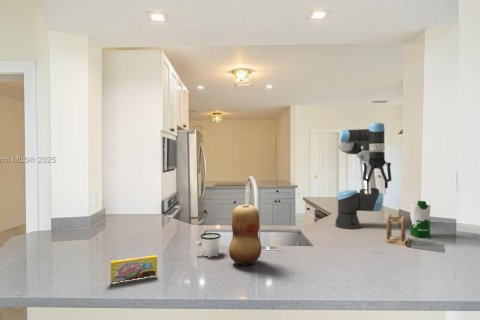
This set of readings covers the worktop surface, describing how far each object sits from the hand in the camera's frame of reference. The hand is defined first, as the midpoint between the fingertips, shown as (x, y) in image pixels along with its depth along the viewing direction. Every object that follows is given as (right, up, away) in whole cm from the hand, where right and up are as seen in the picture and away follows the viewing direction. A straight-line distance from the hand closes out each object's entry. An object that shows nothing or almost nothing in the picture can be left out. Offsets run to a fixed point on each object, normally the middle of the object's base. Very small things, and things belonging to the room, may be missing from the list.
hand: (377, 193), depth 154 cm
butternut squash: (-73, -26, -34) cm, 84 cm away
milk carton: (+27, -25, +6) cm, 37 cm away
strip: (+12, -25, -8) cm, 29 cm away
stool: (+8, -25, -5) cm, 27 cm away
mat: (+19, -25, -13) cm, 34 cm away
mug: (-90, -26, -22) cm, 96 cm away
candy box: (-114, -27, -49) cm, 127 cm away
